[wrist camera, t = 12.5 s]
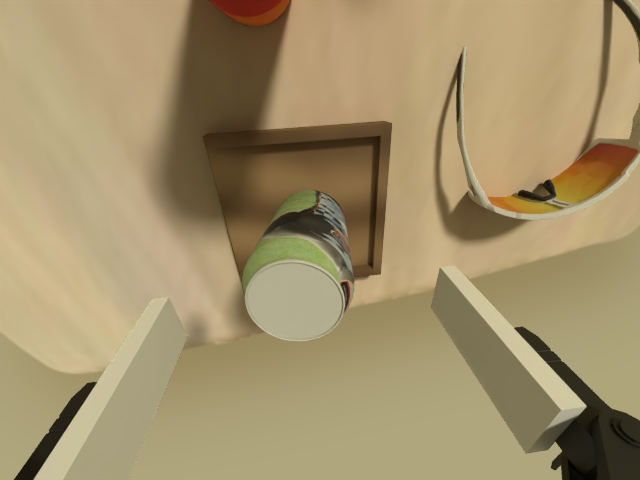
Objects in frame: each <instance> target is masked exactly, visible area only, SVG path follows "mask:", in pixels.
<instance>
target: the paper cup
mask: <svg viewBox="0 0 640 480" xmlns="http://www.w3.org/2000/svg"><path fill="white" fill-rule="evenodd" d="M209 1H210V2H211V3H213V4H214V5H215V6H216V7H218V8H219V9H220V10H221V11H223V12H224V13H225V14H227V15H228V16H230V17H231V18H233V19H234V20H236V21H238V22H240V23H243V24H246V25H250V26H262V25H266V24H268V23H271V22H272V21H274V20H275V19H277V18H278V17H279V16H280V15H281V14H282V13H283V12H284V10H285V9H286V7H287V6H288V4H289V2H290V0H209Z"/></svg>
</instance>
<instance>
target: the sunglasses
mask: <svg viewBox="0 0 640 480" xmlns="http://www.w3.org/2000/svg"><path fill="white" fill-rule="evenodd" d="M612 1H613V2H614V3H615V4H616V5H617V6H618V7H619V8H620V9H621V10H622V11H623V13H624V14H625V16H626V17H627V19H628V20H629V22H630V23H631V25H632V27H633V29H634V32H635V34H636V37H637V41H638V47H639V63H640V11H639V10H638V8H637V7H636V6H635V5H634V4H633V2H632V1H631V0H612ZM465 60H466V46H464V47H463V51H462V54H461V57H460V61H459V66H458V76H457V93H456V111H457V139H458V143H459V147H460V151H461V154H462V158H463V163H464V167H465V172H466V176H467V181H468V186H469V188H470V191H469V192H468V195H469V197H470V198H471V200H473V201H474V202H475V203H477V204H478V205H480V206H482V207H484V208H486V209H488V210H491V211H493V212H496V213H499V214H502V215H504V216H508V217H512V218H517V219H523V220H543V219H553V218H557V217H561V216H565V215H569V214H572V213H575V212H577V211H580V210H582V209H585V208H587V207H589V206H591V205H593V204H595V203H597V202H599V201H600V200H602V199H603V198H605V197H606V196H608V195H609V194H611V193H612V192H613V191H615V190H616V189H617V188H618V187H620V186H621V185H622V184H623V183H624V182H625V181H626V180H627V179H628V178H629V176H630V173H631V172H632V171H633V169H634V168H635V167H636V166H637V165H638V163H639V162H640V104H639V107H638V110H637V111H636V113H635V115H634V117H633V125H632V132H631V135H630V139H629V140H627V139H615V138H598V139H596V140H594V141H593V142H592V144H591V145H590V146H589V147H588V148H587V149H586V150H585V151H584V152H583V153H582V154H581V155H580V156H579V157H578V158H577V160H576V161H575V163H573V164H572V165H571V166H570V167H569V168H568V169H566V170H565V171H564V172H562V173H561V174H560V175H558V176H557V177H555V178H554V179H552V180H550V179H549V180H547V181H545V182H544V184H543V186H544V188H545V190H546V193H547V195H548V196H546V197H541V196H538V195H536V194H534V193H531V192H528V191H525V190H521V191H519V192H518V194H513V195H512V196H509V197H495V198H494V197H487V196H486V195H485V193H484V191H483V190H482V188H481V186H480V184H479V182H478V180H477V178H476V176H475V174H474V172H473V169H472V166H471V164H470V161H469V158H468V155H467V150H466V144H465V139H464V118H463V88H464V71H465ZM633 130H634V131H633Z"/></svg>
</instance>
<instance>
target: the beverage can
mask: <svg viewBox="0 0 640 480" xmlns="http://www.w3.org/2000/svg"><path fill="white" fill-rule="evenodd" d="M242 288H243V292H244V296H245V304H246V309H247V311H248V313H249V316H250V317H251V319H252V320H253V321H254V323H255V324H256V325H257V326H258V327H259V328H261V329H262V330H263V331H265V332H266V333H268V334H270V335H272V336H274V337H277V338H279V339H283V340H287V341H295V342H297V341H310V340H314V339H317V338H320V337H322V336H324V335H326V334H327V333H329V332H330V331H332V330H333V329H334V328H335V327H336V326H337V325H338V323H339V322H340V320H341V318H342V316H343V314H344V313H345V312H346V310H347V309H348V307H349V305H350V303H351V301H352V298H353V293H354V277H353V270H352V263H351V256H350V249H349V242H348V235H347V228H346V221H345V216H344V213H343V210H342V208H341V207H340V205H339V204H338V203H337V202H336V200H335V199H333V198H332V197H331V196H329V195H327V194H325V193H323V192H320V191H315V190H304V191H299V192H296V193H294V194H292V195H291V196H289V197H287V198H286V199H285V200H284V201H283V203H282V204H281V205H280V207H279V209H278V210H277V212H276V214H275V215H274V217H273V219H272V220H271V222H270V224H269V225H268V227H267V229H266V230H265V232H264V234H263V235H262V237H261V239H260V240H259V242H258V244H257V245H256V247H255V249H254V250H253V252H252V254H251V255H250V257H249V259H248V261H247V263H246V265H245V267H244V271H243V276H242Z"/></svg>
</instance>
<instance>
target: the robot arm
mask: <svg viewBox="0 0 640 480" xmlns="http://www.w3.org/2000/svg"><path fill="white" fill-rule="evenodd" d="M431 308H432V310H433V311H434V313H435V314H436V316H437V317H438V319H439V320H440V322H441V323H442V325H443V327H444V328H445V330H446V331H447V333H448V334H449V336H450V337H451V339H452V340H453V342H454V344H455V345H456V347H457V348H458V350H459V351H460V353H461V354H462V356H463V357H464V359H465V360H466V362H467V364H468V365H469V367H470V368H471V370H472V371H473V373H474V374H475V376H476V377H477V379H478V380H479V382H480V384H481V385H482V387H483V388H484V390H485V391H486V393H487V394H488V396H489V397H490V399H491V401H492V402H493V404H494V405H495V407H496V408H497V410H498V411H499V413H500V414H501V416H502V417H503V419H504V421H505V422H506V424H507V425H508V427H509V428H510V430H511V431H512V433H513V434H514V436H515V437H516V439H517V441H518V442H519V444H520V445H521V447H522V448H523V450H524V451H525V453H532V452H538V451H545V450H548V449H549V448H550V447H551V446H552V445H553V444H554V442H556V443H557V444H558V446H559V447H560V448H561V449H562V452H561V453H560V454H559V455H558V456H557V457H556V458H555V459H554V461H553V462H552V465H551V468H552V469H553V470H556V469H557V468H558V467H559V466H560V465H561V470H562V480H640V421H639V420H638V419H636V418H634V417H632V416H630V415H628V414H627V413H624V412H621V411H617V410H614V409H611V408H610V407H609V406H608V405H607V404H606V403H605V402H603V401H602V400H601V399H600V398H599V397H598V396H597V395H596V394H595V393H594V392H593V391H592V390H591V389H590V388H589V387H588V386H587V385H586V384H585V383H584V382H583V381H582V380H581V379H580V378H579V377H578V376H577V375H576V374H575V373H574V372H573V371H572V370H571V369H570V368H569V367H568V366H567V365H566V364H565V363H564V362H562V361H561V359H560V358H559V357H558V356H557V355H556V354H555V353H554V352H552V351H551V350H550V348H549V347H548V346H547V345H546V344H545V343H544V342H543V341H542V340H541V339H540V338H539V337H538V336H536V335H535V334H533V333H532V332H530V331H528V330H527V329H525V328H524V327H516V328H513V327H512V326H511V325H510V324H509V323H508V322H507V321H506V320H505V318H503V316H502V315H500V313H499V312H498V311H497V310H496V309H495V308H494V307H493V306H492V305H491V303H490V302H489V301H488V300H487V299H486V298H485V297H484V296H483V295H482V294H481V293H480V292H479V291H478V290H477V289H476V288H475V287H474V285H473V284H472V283H471V282H470V281H469V280H468V279H467V278H466V277H465V276H464V275H463V274H462V273H461V272H460V270H459V269H458V268H457V267H456V266H446V267H440V269H439V274H438V278H437V283H436V287H435V291H434V296H433V301H432V305H431ZM187 337H188V336H187V334H186V332H185V330H184V328H183V326H182V324H181V322H180V320H179V317H178V315H177V313H176V311H175V309H174V307H173V305H172V303H171V301H170V299H169V297H166V298H157V299H152V300H151V301H150V303H149V304H148V306H147V307H146V309H145V310H144V312H143V313H142V315H141V316H140V318H139V319H138V321H137V323H136V324H135V326H134V327H133V329H132V330H131V332H130V333H129V335H128V336H127V338H126V339H125V341H124V342H123V344H122V345H121V347H120V348H119V350H118V352H117V353H116V355H115V356H114V358H113V359H112V361H111V362H110V364H109V365H108V367H107V368H106V370H105V371H104V373H103V374H102V376H101V378H100V379H99V381H98V382H92V383H87V384H86V385H85V386H84V387H83V388H82V389H81V390H80V391H79V392H78V393H76V394H75V395H74V396H73V397H72V398H71V400H70V401H69V402H68V404H67V406H66V407H65V408H64V410H63V411H62V412H61V414H60V416H59V419H56V421H55V422H54V424H53V425H52V427H51V428H50V429H49V433H48V434H46V435H45V436H44V438H43V439H42V441H41V442H40V444H39V445H38V447H37V448H36V450H35V451H34V452H33V453H32V455H31V456H30V458H29V459H28V461H27V462H26V464H25V465H24V466H23V468H22V469H21V471H20V472H19V473H18V475H17V476H16V478H15V479H14V480H129V477H130V475H131V473H132V470H133V468H134V466H135V463H136V461H137V458H138V456H139V453H140V451H141V449H142V446H143V444H144V441H145V439H146V437H147V434H148V432H149V429H150V427H151V424H152V422H153V419H154V417H155V415H156V412H157V410H158V407H159V405H160V402H161V400H162V398H163V395H164V393H165V390H166V388H167V386H168V383H169V381H170V378H171V375H172V373H173V371H174V368H175V366H176V363H177V361H178V359H179V356H180V354H181V351H182V349H183V347H184V344H185V342H186V339H187Z"/></svg>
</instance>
